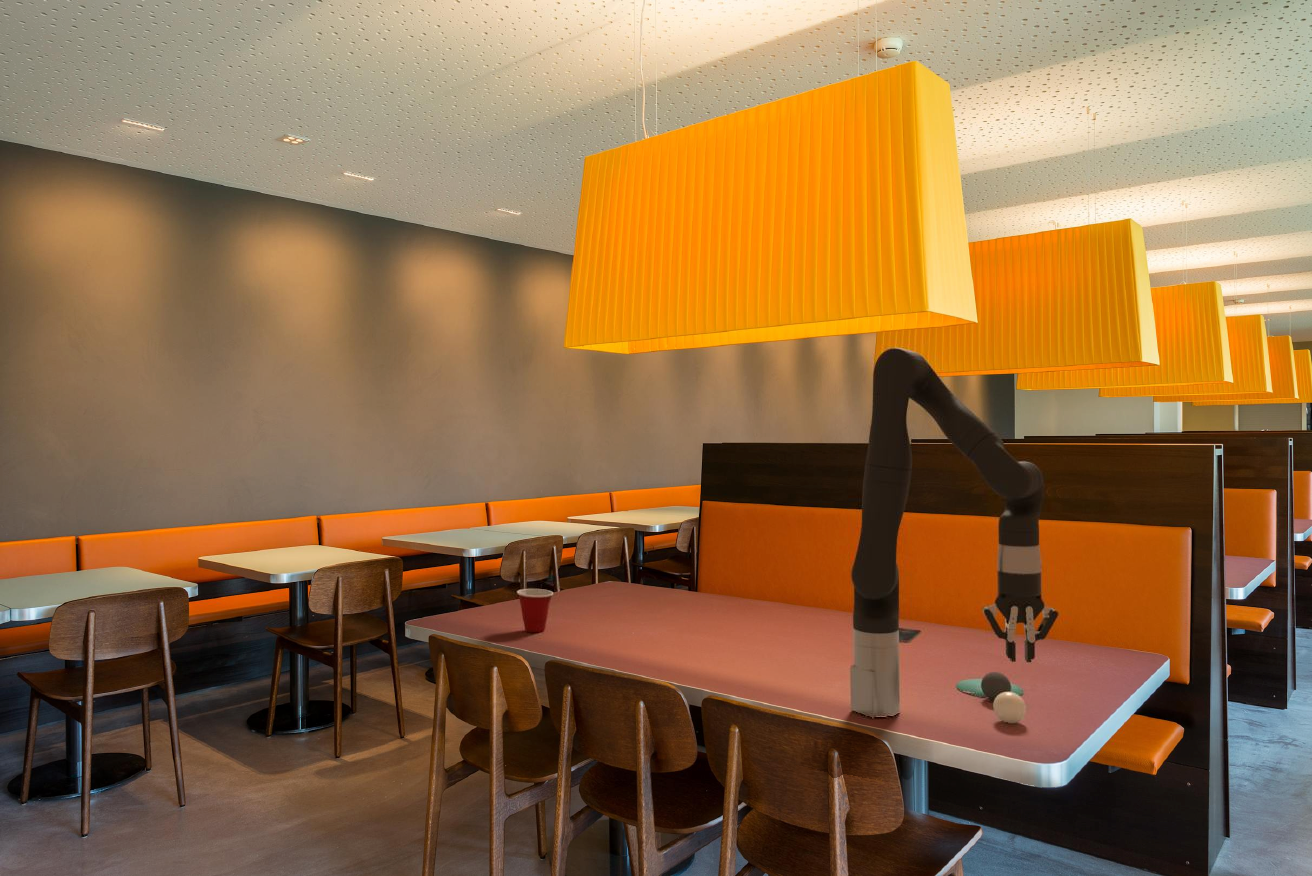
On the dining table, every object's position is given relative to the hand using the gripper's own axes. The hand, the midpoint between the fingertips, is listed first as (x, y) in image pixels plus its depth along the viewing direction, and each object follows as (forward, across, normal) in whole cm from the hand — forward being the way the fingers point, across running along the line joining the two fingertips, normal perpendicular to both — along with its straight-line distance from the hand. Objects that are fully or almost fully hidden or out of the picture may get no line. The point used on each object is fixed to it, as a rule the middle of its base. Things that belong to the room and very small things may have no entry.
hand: (1020, 660), depth 157 cm
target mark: (+15, 0, -32) cm, 35 cm away
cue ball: (+12, 0, -10) cm, 16 cm away
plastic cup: (+15, +121, -70) cm, 141 cm away
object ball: (+12, 0, -24) cm, 27 cm away
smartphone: (+16, +15, -80) cm, 83 cm away
